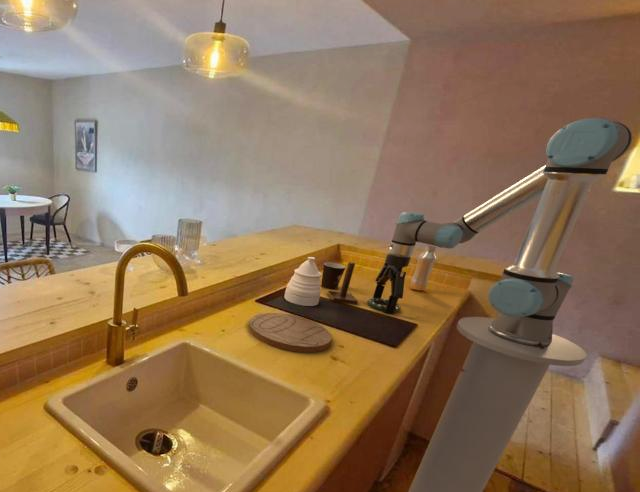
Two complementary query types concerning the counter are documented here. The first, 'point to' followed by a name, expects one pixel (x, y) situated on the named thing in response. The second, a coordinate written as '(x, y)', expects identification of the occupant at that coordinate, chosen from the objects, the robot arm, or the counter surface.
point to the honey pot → (304, 285)
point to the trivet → (289, 332)
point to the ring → (373, 304)
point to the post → (344, 288)
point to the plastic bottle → (423, 269)
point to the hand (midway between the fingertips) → (382, 306)
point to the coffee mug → (332, 275)
